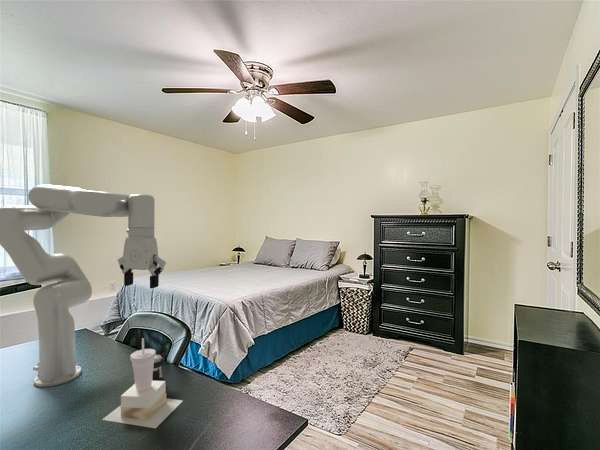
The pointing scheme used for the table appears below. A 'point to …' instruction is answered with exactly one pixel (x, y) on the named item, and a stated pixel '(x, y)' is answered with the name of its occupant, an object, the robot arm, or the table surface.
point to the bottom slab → (143, 410)
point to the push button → (157, 368)
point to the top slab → (143, 396)
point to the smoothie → (143, 367)
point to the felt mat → (151, 423)
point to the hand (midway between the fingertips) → (141, 286)
